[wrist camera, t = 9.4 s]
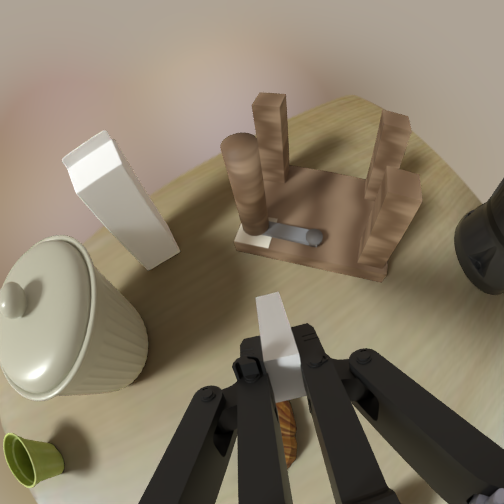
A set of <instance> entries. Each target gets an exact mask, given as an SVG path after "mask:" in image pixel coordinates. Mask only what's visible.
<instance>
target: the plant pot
mask: <svg viewBox="0 0 504 504" xmlns="http://www.w3.org/2000/svg"><path fill="white" fill-rule="evenodd" d="M3 448H4V454H5V458H6V461H7V463H8V466H9V468H10V470H11V471H12V473H13V475H14V476H15V478H16V479H17V480H18V481H19V482H20V483H21V484H22V485H24V486H25V487H28V488H33V487H35V485H36V484H38V483H39V482H40V481H43V480H45V479H48V478H51V477H54V476H57V475H59V474H62V472H63V470H64V461H63V458H62V456H61V454H60V452H59V451H58V450H57V449H56V448H55V446H54V445H52V444H50V443H46V442H39V441H33V440H28V439H23V438H22V437H19V436H17V435H16V434H14V433H7V434H6V435H5V437H4V441H3Z"/></svg>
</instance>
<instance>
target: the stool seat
mask: <svg viewBox="0 0 504 504" xmlns="http://www.w3.org/2000/svg"><path fill="white" fill-rule="evenodd" d="M252 110H253V117H254V123H255V130H256V136H257V141H258V147H259V154H260V161H261V168H262V175H263V182H264V189H265V197H266V204H267V211H268V219H269V221H271V222H276V223H281V224H285V225H290V226H295V227H299V228H304V229H308V230H310V229H318V230H320V231H321V232H322V234H323V239H322V243H321V244H320V245H319V246H318V247H311V246H309V245H305V244H300V243H296V242H291V241H287V240H282V239H278V238H274V237H269V236H265V235H259V236H251V235H248V234H247V233H245V232H244V230H243V227H242V223H241V224H240V226H239V229H238V231H237V234H236V236H235V239H234V245H235V247H236V250H237V251H241V252H245V253H250V254H254V255H259V256H263V257H268V258H273V259H277V260H282V261H286V262H291V263H295V264H300V265H304V266H309V267H313V268H318V269H322V270H327V271H331V272H336V273H340V274H345V275H350V276H354V277H359V278H363V279H368V280H372V281H377V282H382V281H383V279H384V278H385V277H386V275H387V266H388V259H389V257H390V256H391V254H392V253H393V251H394V249H395V248H396V246H397V245H398V243H399V241H400V240H401V238H402V236H403V235H404V233H405V231H406V230H407V228H408V226H409V224H410V223H411V221H412V219H413V217H414V216H415V214H416V212H417V210H418V208H419V207H420V205H421V203H422V192H421V184H420V176H419V174H416V173H413V172H409V171H405V170H402V169H399V168H400V165H401V162H402V159H403V157H404V154H405V151H406V148H407V145H408V141H409V138H410V135H411V132H412V131H411V126H410V122H409V118H408V116H405V115H402V114H398V113H394V112H390V111H386V110H382V115H381V119H380V124H379V129H378V133H377V138H376V142H375V147H374V151H373V155H372V159H371V163H370V167H369V171H368V175H367V178H366V179H361V178H357V177H352V176H347V175H342V174H337V173H332V172H327V171H321V170H316V169H310V168H304V167H298V166H291V165H289V143H288V123H287V107H286V94H277V93H259V94H258V96H257V98H256V99H255V101H254V102H253V104H252Z"/></svg>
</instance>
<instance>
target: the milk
mask: <svg viewBox="0 0 504 504" xmlns="http://www.w3.org/2000/svg"><path fill="white" fill-rule="evenodd" d="M62 162H63V164H64V165H65V166H66V168H67V169H68V172H69V174H70V178H71V181H72V183H73V186H74V189H75V192H76V194H77V195H78V196H79V197H80V199H81V200H82V201H83V202H84V203H85V204H86V205H87V207H88V208H89V209H90V210H91V211H92V212H93V214H94V215H95V216H96V217H97V218H98V219H99V220H100V221H101V222H102V223H103V225H104V226H105V227H106V228H107V229H108V230H109V231H110V232H111V233H112V234H113V235H114V236H115V238H116V239H117V240H118V241H119V242H120V243H121V244H122V245H123V246H124V247H125V248H126V249H127V250H128V251H129V252H130V253H131V254H132V255H133V256H134V257H135V258H136V259H137V260H138V261H139V262H140V263H141V264H142V265H143V266H144V267H145V268H146V269H147V270H148V271H149V270H151V269H153V268H154V267H156V266H158V265H159V264H161V263H163V262H164V261H166V260H168V259H169V258H171V257H173V256H174V255H176V254H178V253H179V252H180V249H179V247H178V245H177V243H176V241H175V239H174V237H173V235H172V233H171V231H170V229H169V227H168V225H167V223H166V222H165V220H164V219H163V217H162V216H161V214H160V213H159V211H158V209H157V208H156V206H155V205H154V203H153V202H152V200H151V198H150V197H149V195H148V194H147V192H146V190H145V189H144V187H143V186H142V184H141V183H140V181H139V179H138V177H137V176H136V174H135V173H134V171H133V169H132V168H131V166H130V164H129V163H128V161H127V159H126V157H125V156H124V154H123V152H122V151H121V149H120V147H119V146H118V144H117V142H116V140H115V139H111V137H110V135H109V134H108V132H107V131H105V130H104V131H102V132H100V133H98V134H97V135H95V136H94V137H92V138H91V139H89V140H88V141H86V142H85V143H83V144H82V145H80V146H79V147H78V148H76V149H75V150H73V151H72V152H70V153H69V154H68V155H66V156H65V157H64V158H63V159H62Z"/></svg>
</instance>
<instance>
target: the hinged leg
mask: <svg viewBox="0 0 504 504" xmlns="http://www.w3.org/2000/svg"><path fill="white" fill-rule="evenodd" d="M220 148H221V151H222V155H223V159H224V162H225V166H226V170H227V173H228V177H229V180H230V184H231V188H232V191H233V195H234V198H235V202H236V206H237V209H238V213H239V216H240V220H241V223H242V227H243V230H244V232H245V233H247V234H248V235H251V236H259V235H265V236H269V237H274V238H278V239H282V240H287V241H291V242H296V243H300V244H305V245H309V246H311V247H318V246H319V245H320V244H321V243H322V239H323V234H322V232H321V231H320V230H318V229H310V230H308V229H304V228H299V227H295V226H290V225H285V224H281V223H276V222H271V221H269V219H268V211H267V204H266V197H265V189H264V182H263V175H262V168H261V161H260V154H259V147H258V141H257V138H256V137H255V136H254V135H252V134H249V133H236V134H233V135H230V136H228V137H227V138H225V139H224V140H223V141H222V143H221V147H220Z"/></svg>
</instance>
